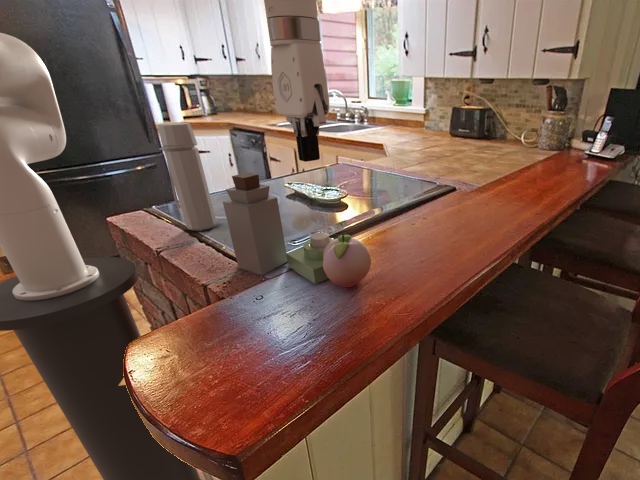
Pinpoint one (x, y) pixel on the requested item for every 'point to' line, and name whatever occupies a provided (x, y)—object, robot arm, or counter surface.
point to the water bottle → (187, 175)
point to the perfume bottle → (254, 225)
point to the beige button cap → (319, 240)
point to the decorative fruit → (346, 261)
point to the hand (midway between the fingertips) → (309, 159)
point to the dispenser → (308, 262)
